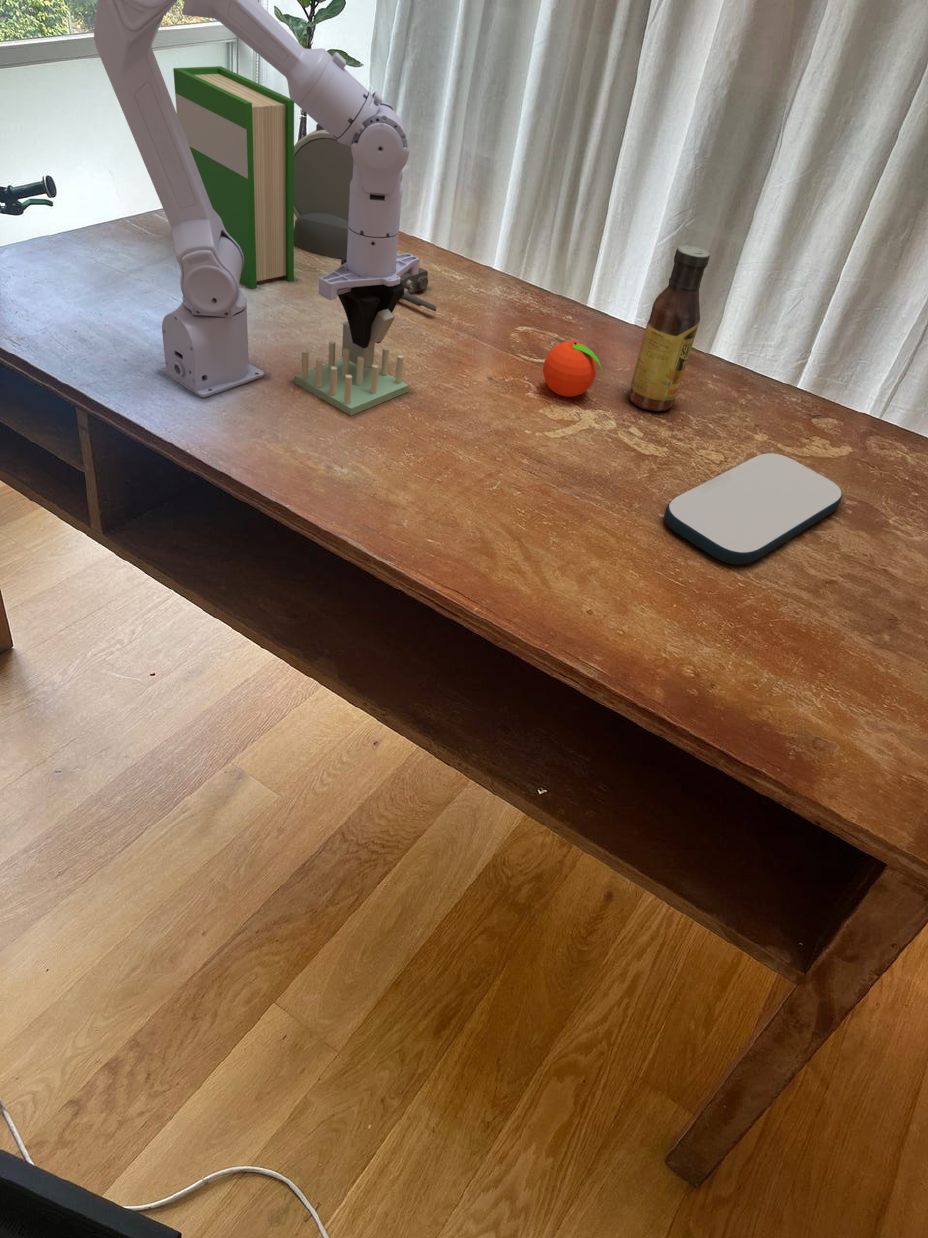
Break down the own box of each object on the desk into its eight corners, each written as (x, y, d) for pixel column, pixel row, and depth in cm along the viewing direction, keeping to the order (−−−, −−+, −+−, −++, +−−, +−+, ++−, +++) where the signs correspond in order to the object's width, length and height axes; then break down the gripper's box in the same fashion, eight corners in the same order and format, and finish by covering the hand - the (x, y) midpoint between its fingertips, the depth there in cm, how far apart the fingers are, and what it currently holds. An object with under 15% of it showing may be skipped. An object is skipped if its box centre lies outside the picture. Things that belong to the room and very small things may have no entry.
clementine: (606, 396, 119) (619, 346, 114) (582, 415, 114) (594, 363, 109) (554, 375, 121) (565, 325, 117) (528, 392, 117) (539, 341, 112)
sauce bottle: (672, 418, 117) (720, 266, 104) (625, 407, 117) (667, 255, 104) (673, 395, 122) (720, 247, 108) (628, 385, 122) (669, 237, 109)
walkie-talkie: (329, 273, 137) (429, 320, 129) (330, 244, 134) (433, 290, 126) (368, 261, 143) (466, 305, 135) (370, 233, 140) (470, 276, 132)
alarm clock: (392, 246, 149) (401, 126, 137) (371, 266, 141) (379, 140, 129) (302, 225, 151) (303, 104, 139) (276, 243, 143) (275, 117, 131)
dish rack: (350, 415, 106) (352, 381, 103) (294, 382, 111) (294, 348, 108) (408, 391, 113) (411, 358, 110) (352, 361, 117) (354, 328, 114)
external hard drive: (735, 576, 93) (742, 561, 91) (650, 520, 98) (654, 505, 97) (846, 506, 106) (853, 492, 105) (765, 460, 112) (771, 446, 110)
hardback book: (293, 280, 134) (294, 100, 118) (251, 288, 129) (245, 103, 113) (228, 239, 142) (220, 65, 126) (186, 246, 138) (173, 67, 122)
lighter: (340, 355, 112) (343, 293, 107) (350, 352, 113) (353, 290, 108) (380, 378, 109) (385, 315, 104) (390, 374, 110) (395, 311, 105)
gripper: (351, 252, 94) (346, 371, 103) (442, 228, 103) (430, 339, 112) (306, 230, 97) (305, 347, 106) (398, 209, 106) (390, 319, 115)
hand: (366, 342), depth 109 cm, fingers closed on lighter, 2 cm apart
